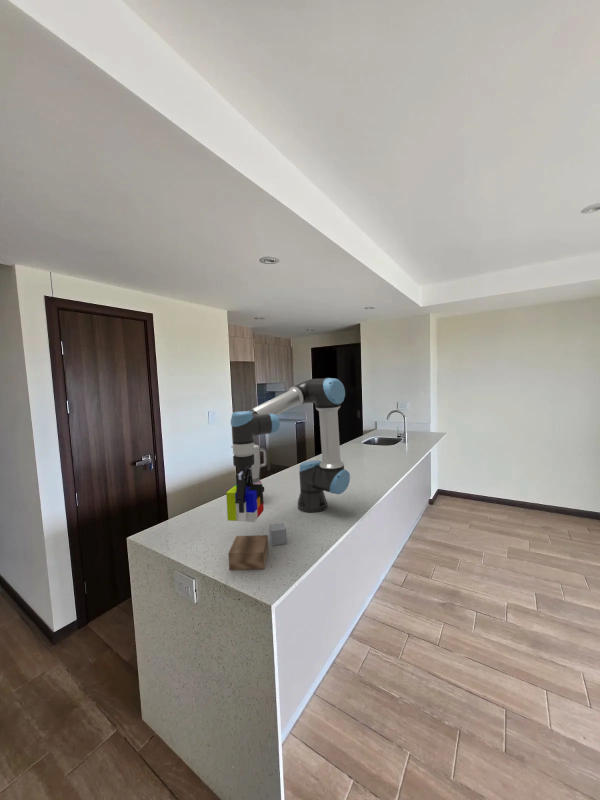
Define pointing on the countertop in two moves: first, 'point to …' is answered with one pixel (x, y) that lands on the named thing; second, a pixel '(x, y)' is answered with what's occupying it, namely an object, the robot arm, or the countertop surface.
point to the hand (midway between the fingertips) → (246, 514)
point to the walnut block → (248, 552)
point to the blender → (258, 464)
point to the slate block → (277, 534)
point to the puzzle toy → (252, 502)
